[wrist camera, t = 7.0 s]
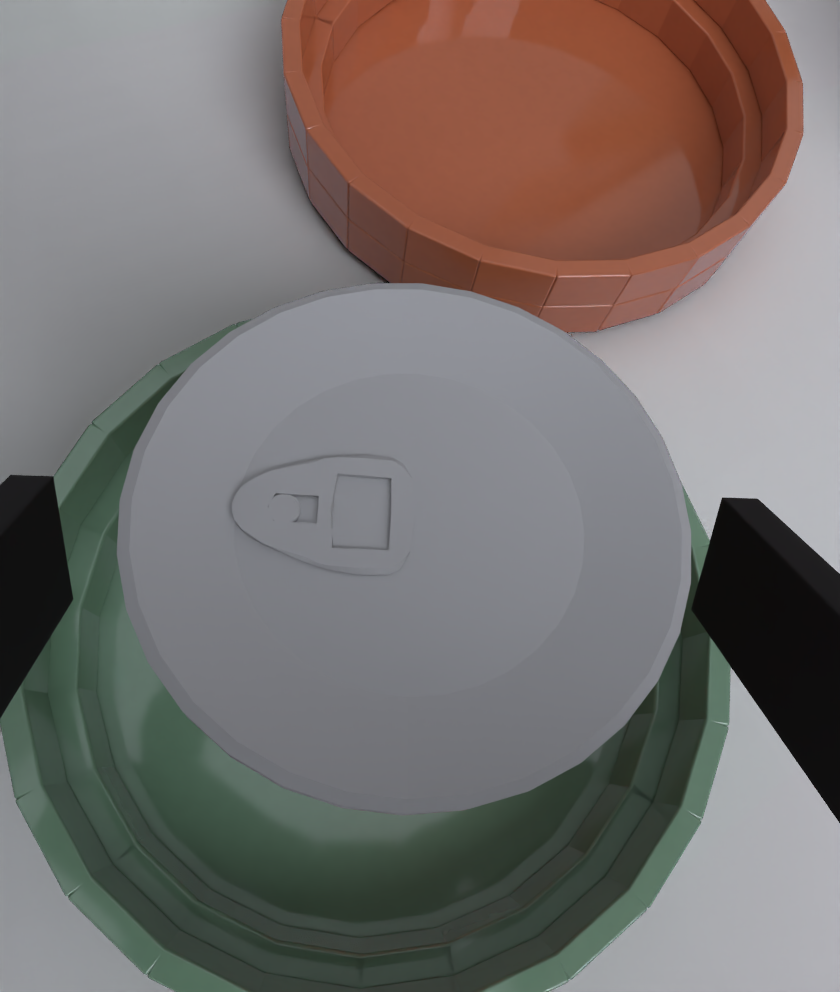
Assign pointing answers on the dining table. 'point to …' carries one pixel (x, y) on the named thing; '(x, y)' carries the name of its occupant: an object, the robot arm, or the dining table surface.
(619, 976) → the dining table surface
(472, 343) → the canned food
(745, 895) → the dining table surface
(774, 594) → the robot arm
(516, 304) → the terracotta bowl
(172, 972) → the sage bowl
